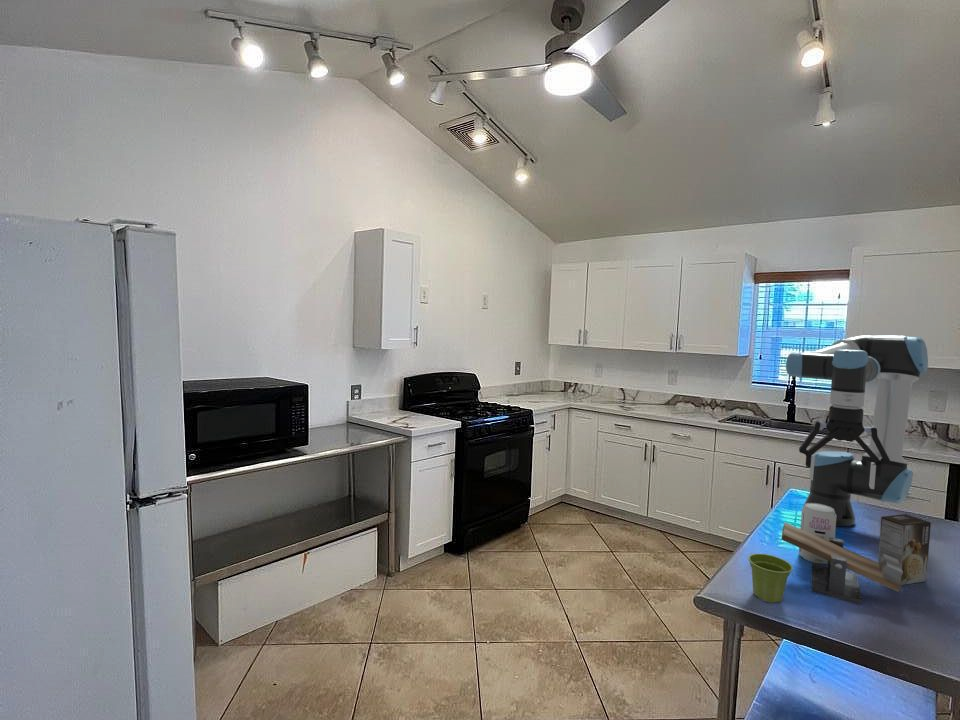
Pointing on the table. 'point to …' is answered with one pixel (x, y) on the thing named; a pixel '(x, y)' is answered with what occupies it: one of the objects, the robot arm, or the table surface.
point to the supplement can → (817, 526)
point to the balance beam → (881, 572)
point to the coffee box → (906, 545)
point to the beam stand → (836, 579)
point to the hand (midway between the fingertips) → (840, 483)
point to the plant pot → (769, 576)
